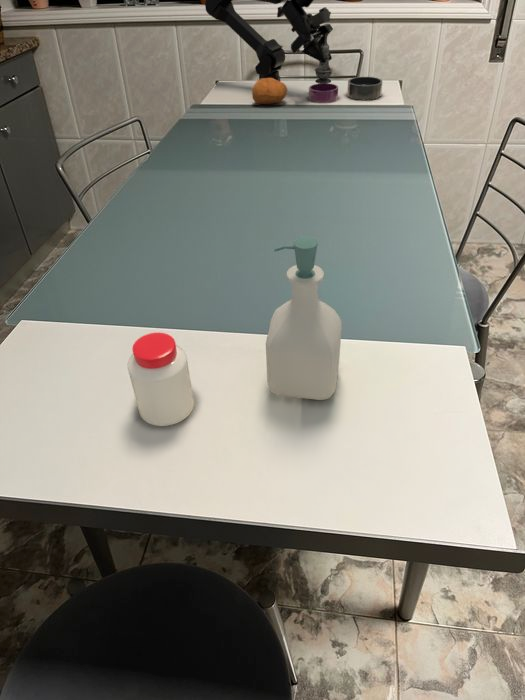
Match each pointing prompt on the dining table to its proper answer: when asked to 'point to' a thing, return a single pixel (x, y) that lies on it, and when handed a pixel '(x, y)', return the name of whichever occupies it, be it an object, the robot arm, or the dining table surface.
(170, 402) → the pill bottle
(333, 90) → the plum bowl
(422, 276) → the dining table surface
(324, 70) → the salt shaker
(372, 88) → the charcoal bowl
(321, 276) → the soap bottle
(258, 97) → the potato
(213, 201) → the dining table surface
